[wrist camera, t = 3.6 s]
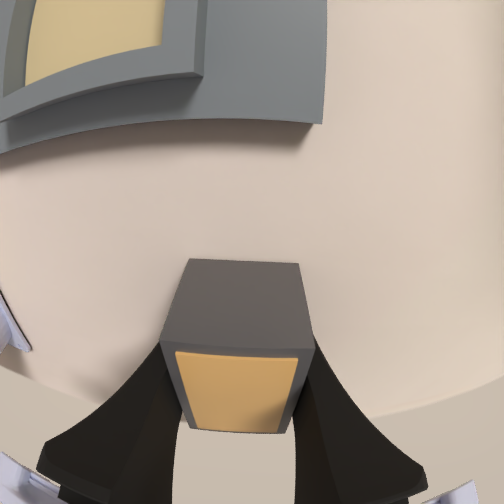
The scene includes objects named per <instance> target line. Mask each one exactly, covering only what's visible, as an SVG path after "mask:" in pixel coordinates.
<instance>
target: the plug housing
mask: <svg viewBox="0 0 504 504" xmlns="http://www.w3.org/2000/svg"><path fill="white" fill-rule="evenodd" d="M159 342H160V345H161V349H162V352H163V355H164V358H165V362H166V365H167V368H168V371H169V374H170V377H171V380H172V383H173V385H174V388H175V391H176V394H177V396H178V399H179V402H180V404H181V407H182V410H183V412H184V415H185V417H186V420H187V422H188V424H189V427H190V428H192V429H200V430H209V431H219V432H233V433H256V434H282V433H285V432H286V430H287V427H288V425H289V422H290V420H291V417H292V414H293V412H294V409H295V407H296V404H297V401H298V399H299V396H300V393H301V390H302V387H303V385H304V382H305V379H306V376H307V373H308V370H309V367H310V364H311V361H312V358H313V355H314V352H315V343H314V337H313V332H312V327H311V321H310V316H309V311H308V306H307V301H306V297H305V292H304V287H303V282H302V278H301V273H300V268H299V264H298V263H276V262H253V261H230V260H209V259H189V261H188V263H187V266H186V268H185V271H184V273H183V276H182V279H181V281H180V284H179V286H178V289H177V291H176V294H175V297H174V299H173V302H172V305H171V307H170V310H169V313H168V316H167V318H166V321H165V324H164V327H163V329H162V332H161V335H160V338H159Z"/></svg>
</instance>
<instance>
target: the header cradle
mask: <svg viewBox="0 0 504 504" xmlns="http://www.w3.org/2000/svg"><path fill="white" fill-rule="evenodd" d="M326 47H327V0H0V154H1V153H4V152H7V151H10V150H13V149H16V148H19V147H23V146H26V145H29V144H33V143H36V142H40V141H44V140H48V139H52V138H56V137H60V136H64V135H69V134H73V133H78V132H83V131H88V130H94V129H100V128H106V127H112V126H119V125H126V124H135V123H143V122H154V121H166V120H181V119H207V118H240V119H267V120H282V121H294V122H305V123H314V124H322V119H323V106H324V91H325V72H326Z"/></svg>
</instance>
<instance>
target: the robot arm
mask: <svg viewBox="0 0 504 504" xmlns="http://www.w3.org/2000/svg"><path fill="white" fill-rule="evenodd" d="M313 337H314V335H313ZM314 343H315V352H314V355H313V358H312V361H311V364H310V367H309V370H308V373H307V376H306V379H305V382H304V385H303V387H302V390H301V393H300V396H299V399H298V401H297V404H296V407H295V409H294V412H293V414H292V417H293V424H294V431H295V447H296V480H295V503H294V504H409V502H408V497H410V496H413V495H415V494H418V493H420V492H422V491H425V490H427V488H428V483H427V478H426V474H425V472H424V469H423V467H422V466H421V465H420V464H418V463H417V462H415V461H414V460H412V459H411V458H410V457H408V456H407V455H406V454H404V453H403V452H402V451H401V450H400V449H398V448H397V447H396V446H395V445H394V444H392V443H391V442H390V441H389V440H388V439H387V438H386V437H385V436H384V435H383V434H382V433H381V432H380V431H379V430H378V429H377V428H376V427H375V426H374V425H373V424H372V423H371V422H370V421H369V420H368V419H367V417H366V416H365V415H364V414H363V413H362V412H361V410H360V409H359V408H358V407H357V405H356V404H355V403H354V402H353V400H352V399H351V398H350V396H349V395H348V393H347V392H346V391H345V389H344V388H343V386H342V385H341V383H340V382H339V380H338V379H337V377H336V375H335V374H334V372H333V370H332V369H331V367H330V366H329V364H328V362H327V360H326V359H325V357H324V355H323V353H322V351H321V349H320V347H319V345H318V343H317V341H316V339H315V337H314ZM7 344H9V345H11V346H13V347H16V348H18V349H20V350H23V351H25V352H29V351H30V349H31V348H30V346H29V344H28V343H27V341H26V339H25V338H24V336H23V334H22V333H21V331H20V329H19V328H18V326H17V324H16V323H15V321H14V319H13V317H12V315H11V313H10V312H9V310H8V308H7V306H6V304H5V302H4V300H3V298H2V296H1V294H0V354H1V353H2V351H3V349H4V348H5V346H6V345H7ZM182 411H183V410H182V407H181V404H180V402H179V399H178V396H177V394H176V391H175V388H174V385H173V383H172V380H171V377H170V374H169V371H168V368H167V365H166V362H165V358H164V355H163V352H162V349H161V345H160V342H158V344H157V345H156V346H155V348H154V349H153V350H152V352H151V353H150V354H149V355H148V357H147V358H146V359H145V360H144V362H143V363H142V364H141V365H140V367H139V368H138V369H137V370H136V371H135V372H134V373H133V375H132V376H131V377H130V378H129V379H128V380H127V381H126V382H125V383H124V385H123V386H122V387H121V388H120V389H119V390H118V391H117V392H116V393H115V394H114V395H112V396H111V397H110V398H109V399H108V400H107V401H106V402H105V403H104V404H102V405H101V406H100V407H99V408H98V409H97V410H95V411H94V412H93V413H92V414H91V415H89V416H88V417H86V418H85V419H83V420H82V421H80V422H79V423H78V424H76V425H75V426H73V427H72V428H70V429H69V430H67V431H65V432H63V433H62V434H60V435H58V436H56V437H54V438H52V439H51V440H49V441H47V442H45V444H44V446H43V449H42V451H41V455H40V458H39V461H38V464H37V467H36V470H37V471H38V472H39V473H41V474H43V475H44V476H46V477H48V478H49V479H51V480H53V481H55V482H57V483H58V484H60V485H61V486H60V487H58V486H56V485H54V484H53V483H51V482H50V481H49V480H47V479H46V478H44V477H42V476H41V475H39V474H37V473H36V472H34V471H32V470H31V469H29V468H27V467H25V466H23V465H21V464H20V463H18V462H17V461H15V460H14V459H13V458H11V457H10V456H8V455H7V454H5V453H4V452H1V453H0V502H1V503H2V504H172V482H173V467H174V456H175V447H176V439H177V432H178V427H179V423H180V419H181V415H182ZM421 504H479V501H478V496H477V491H476V487H475V482H474V480H470V481H468V482H466V483H464V484H463V485H461V486H459V487H457V488H455V489H453V490H451V491H448V492H445V493H443V494H441V495H438V496H436V497H434V498H432V499H430V500H427V501H425V502H423V503H421Z"/></svg>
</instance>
